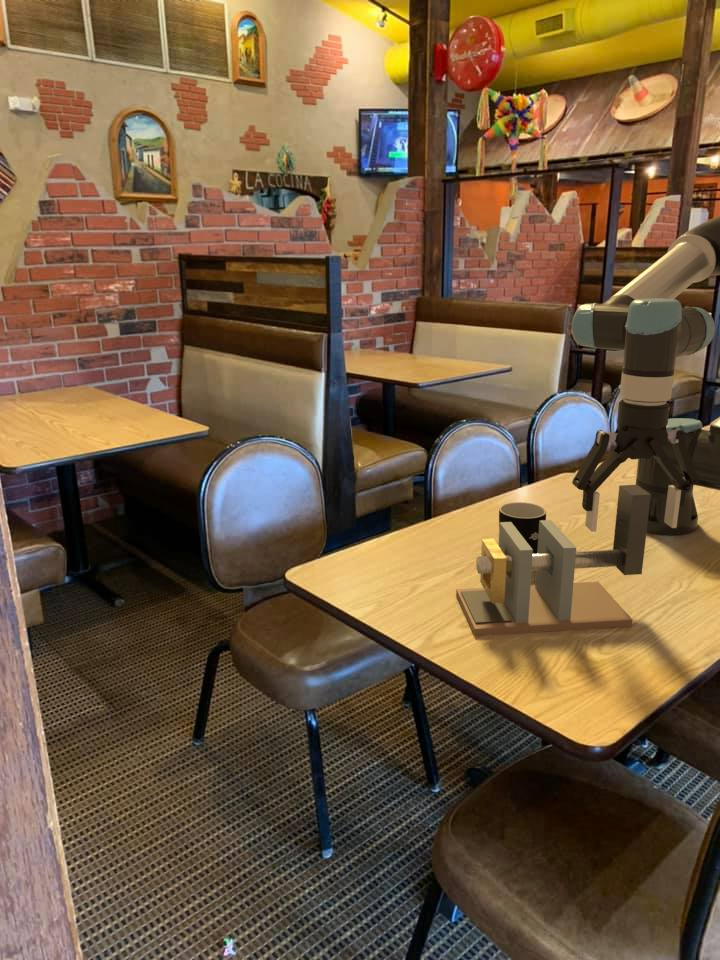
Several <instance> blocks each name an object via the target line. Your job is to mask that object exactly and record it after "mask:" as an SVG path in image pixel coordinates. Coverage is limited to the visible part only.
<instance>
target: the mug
mask: <svg viewBox="0 0 720 960" xmlns="http://www.w3.org/2000/svg"><path fill="white" fill-rule="evenodd" d="M540 520H547V510H546V509H545V507H543V506H541V505H538V504H535V503H531V502H522V501H519V502H518V501H517V502H509V503H505V504H502V505H501V506H500V507H499V512H498V526H499V525H500V522H512V524H513V525H514V526H515V528H516V529H517V530H518V531H519V533H520V534H521V535H522V537H523V538H524V539H525V540H526V542H527V543H528V544H529V546H530V547H531V548H532V549H533V554H537V551H538V535H539V521H540Z"/></svg>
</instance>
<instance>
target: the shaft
mask: <svg viewBox="0 0 720 960" xmlns="http://www.w3.org/2000/svg"><path fill="white" fill-rule="evenodd" d="M650 498H651V494H649V493H648V492H647V491H645V490H644V489H642V488H641V487H639V486H638V485H636V484H625V485H624V484H623V485H620V484H619V485H618V496H617V504H616V505H617V507H616V516H615V526H614V533H613V534H614V536H613V545H612V549H606V550H605V549H602V550H585V551H582V550H581V551H576V559H575V569H594V568H595V569H596V568H610V567H611V568H614V567H616V569H617V570H619V572H620V573H621V574H622V575H624V576H633V575H634V576H635V575H642V574H643V573H642V572H643V566H644V560H645V559H644V557H645V550H646V549H645V547H646V541H647V533H648V532H647V524H648V515H649V507H650ZM505 556H506V558H507V561H506V572H511V568H512V557H511V555H505ZM553 563H554V555H553V553H540V554H533V555H532V571H531V572H536V571H539V570H553ZM491 564H492V563H491V562H490V560H489V558H488V557H487V556H481V555H480V556H477V557H476V570H477V573H478V574H479V575H481V574H482V573H491Z"/></svg>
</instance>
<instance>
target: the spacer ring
mask: <svg viewBox="0 0 720 960" xmlns="http://www.w3.org/2000/svg"><path fill="white" fill-rule="evenodd" d="M481 556H487V557H488V558H489V560H490V562H491V563H492V564H491V573H482V574H480V576H479V577H480V579H479V580H480V581H479V582H480V584H481V586H482V588H484V590H485V591H486V593H487V595H488V597H489V599H490V600H491V602H492V604H495V603H504V600H505V580H506V561H507V558H506V556H505V555H504V553H503V552H502V550H501V549H500V547H499V543H497V542H496V540H495V538H482V539H481V554H480V557H481Z"/></svg>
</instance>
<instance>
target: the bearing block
mask: <svg viewBox="0 0 720 960" xmlns="http://www.w3.org/2000/svg"><path fill="white" fill-rule="evenodd" d="M498 546H499V547H500V549H501V550H502V552H503V553H504V555H511V557H512V568H511V572H506V580H505V600H504V603H495V604H492V602H491V600H490V599H489V597H488V595H487V593H486V591H485V590H484V588H483V587H474V588H473V587H472V588H458V589H457V588H455V589H456V590H455V595H456V598H457V599H458V600H457V601H458V602H459V604H460V607H461V609H462V611H463V613H464V615H465V617H466V619H467V622H468V624H469V626H470V629H471V630H472V633H473V635H474V636H489V635H490V636H492V635H505V634H506V635H508V634H510V635H511V634H524V633H537V632H538V633H541V632H555V631H557V632H559V631H574V630H575V631H576V630H592V629H606V628H609V629H610V628H623V627H626V628H627V627H633V621H634V620H633V618H632V617H631V616H630V615H629V614H628V613H627V611H625V609H624V608H623V607H622V606H621V605H620V604H619V602H617V600H616V599H615V598H614V597H613V596H612V595H611V594H610V592H608V591H607V589H606V588H605V587H604V586H603V585H602V584H601V583H600V582H599V581H586V582H585V581H584V582H574V580H575V572H576V571H575V559H576V552H577V546H576V545H575V544H573V542H572V541H571V540H570V539H569V538H568V537H567V535H565V534H564V533H563V531H561V529H560V528H559V527H558V526H557V525H556V524H555V522H553V521H552V520H551V519H546V520H540V521H539V535H538V551H537V554H540V553H553V555H554V563H553V570H539V571H535V581H534V582H535V584H532V572H533V571H532V555H533V549H532V548H531V547H530V546H529V544H528V543H527V542H526V540H525V539H524V538H523V537H522V535H521V534H520V533H519V531H518V530H517V529H516V528H515V526H514V525H513V524H512V522H500V525H499V524H498Z"/></svg>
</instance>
